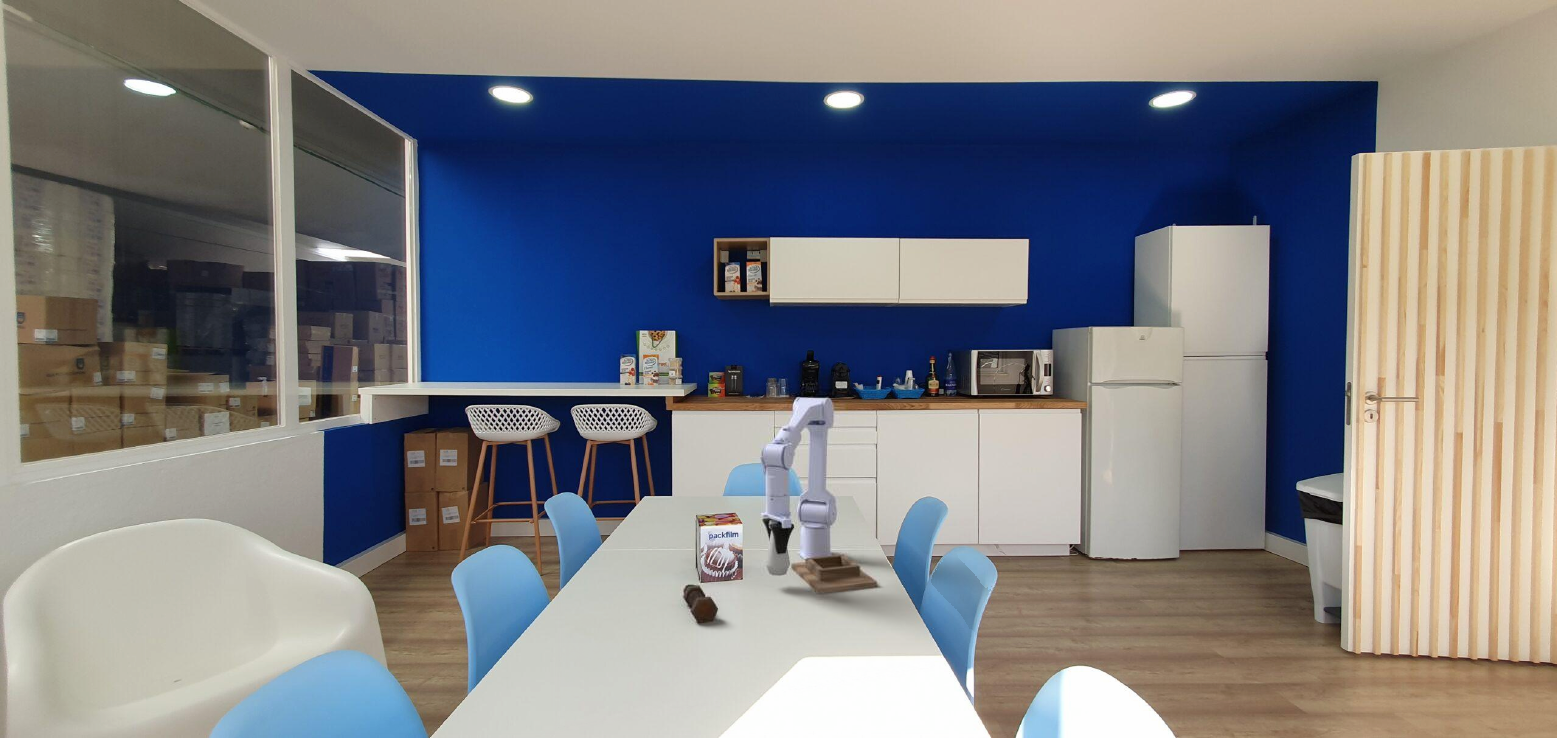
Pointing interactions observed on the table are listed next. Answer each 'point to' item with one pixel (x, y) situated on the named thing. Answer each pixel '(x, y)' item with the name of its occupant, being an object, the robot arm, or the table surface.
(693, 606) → the bolt
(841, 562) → the socket board
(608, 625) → the table surface
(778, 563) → the salt shaker
